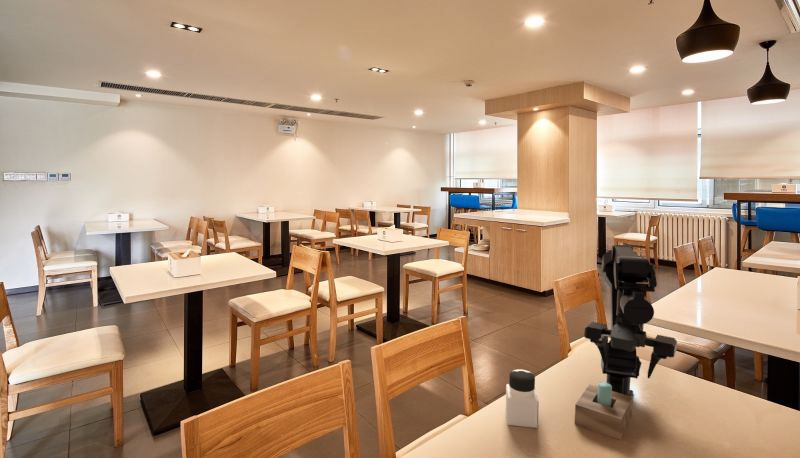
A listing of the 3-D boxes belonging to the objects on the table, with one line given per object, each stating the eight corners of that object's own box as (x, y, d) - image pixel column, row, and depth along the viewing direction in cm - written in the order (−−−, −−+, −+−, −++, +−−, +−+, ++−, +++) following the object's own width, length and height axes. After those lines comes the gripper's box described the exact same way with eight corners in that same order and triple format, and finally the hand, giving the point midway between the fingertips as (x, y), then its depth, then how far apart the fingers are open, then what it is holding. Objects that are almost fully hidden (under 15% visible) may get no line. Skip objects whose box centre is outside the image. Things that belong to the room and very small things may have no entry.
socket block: (588, 401, 108) (589, 384, 107) (631, 415, 101) (632, 396, 101) (574, 423, 99) (575, 404, 98) (620, 439, 92) (621, 419, 92)
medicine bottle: (538, 428, 97) (539, 381, 95) (507, 425, 98) (508, 379, 97) (534, 411, 104) (535, 367, 102) (505, 409, 105) (506, 365, 104)
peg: (598, 414, 102) (599, 381, 101) (611, 419, 100) (613, 384, 99) (595, 420, 100) (596, 385, 99) (608, 424, 98) (610, 389, 97)
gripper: (578, 310, 96) (576, 373, 98) (673, 328, 84) (668, 399, 86) (591, 299, 104) (589, 357, 106) (679, 314, 92) (674, 378, 94)
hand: (626, 371), depth 98 cm, fingers open, 9 cm apart
